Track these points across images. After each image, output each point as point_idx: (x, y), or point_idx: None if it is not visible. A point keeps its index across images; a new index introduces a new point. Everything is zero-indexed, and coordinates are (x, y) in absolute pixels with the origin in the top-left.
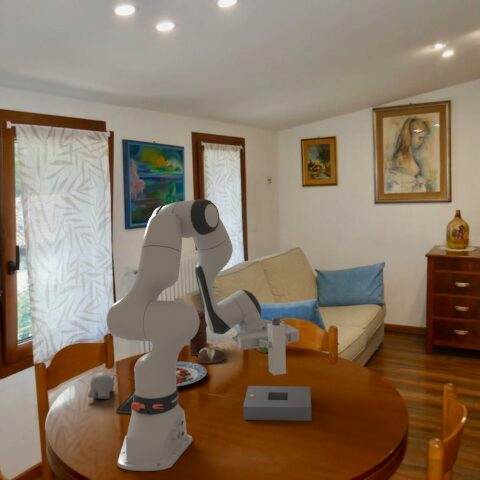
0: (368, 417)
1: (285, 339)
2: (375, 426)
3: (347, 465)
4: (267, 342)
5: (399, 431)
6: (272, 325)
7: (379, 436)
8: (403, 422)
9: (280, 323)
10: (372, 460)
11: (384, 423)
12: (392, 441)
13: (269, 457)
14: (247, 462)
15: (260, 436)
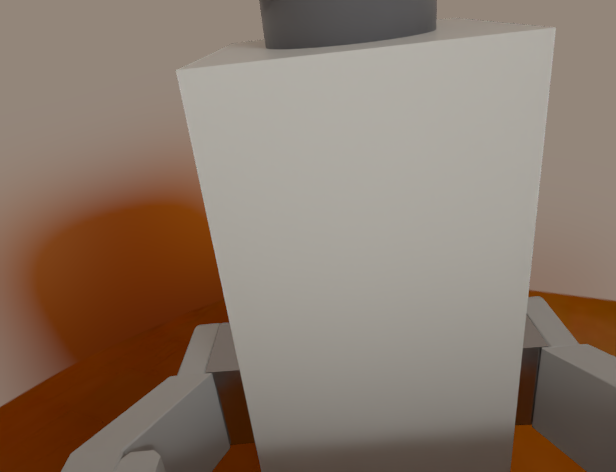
0: (61, 458)
1: (209, 340)
2: (112, 399)
3: None
4: (533, 303)
5: (90, 360)
6: (441, 24)
7: (161, 354)
8: (19, 395)
9: (226, 54)
10: None
11: (69, 406)
12: (158, 330)
13: None
14: (599, 336)
15: (557, 456)
